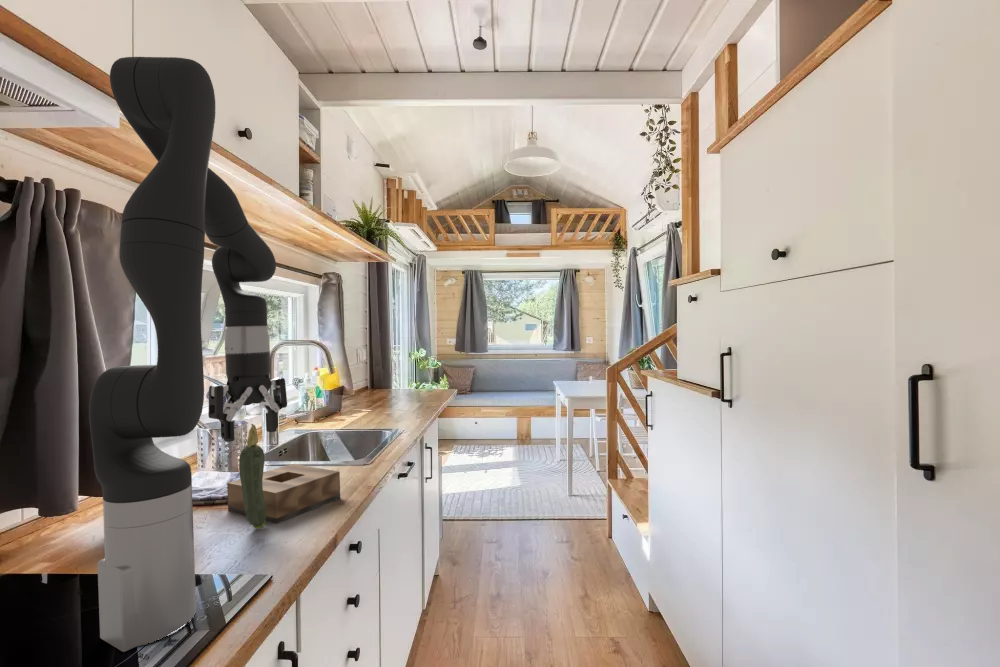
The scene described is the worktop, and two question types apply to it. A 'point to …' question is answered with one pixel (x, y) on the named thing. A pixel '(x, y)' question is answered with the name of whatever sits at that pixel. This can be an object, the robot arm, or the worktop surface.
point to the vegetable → (253, 480)
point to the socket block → (290, 491)
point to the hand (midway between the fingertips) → (251, 436)
